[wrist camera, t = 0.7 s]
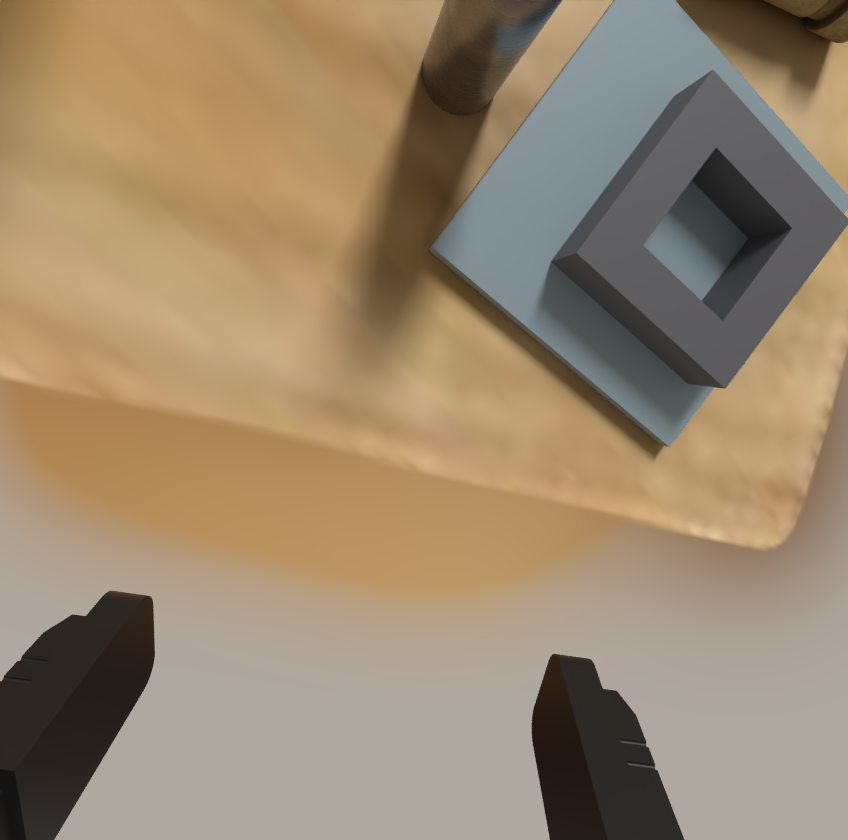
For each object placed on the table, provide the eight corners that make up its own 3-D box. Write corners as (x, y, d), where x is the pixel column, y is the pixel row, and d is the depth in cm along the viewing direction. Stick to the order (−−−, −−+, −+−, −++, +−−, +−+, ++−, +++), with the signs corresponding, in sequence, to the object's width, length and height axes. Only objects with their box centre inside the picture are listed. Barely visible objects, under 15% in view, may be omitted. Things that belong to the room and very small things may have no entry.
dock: (427, 249, 29) (444, 235, 25) (631, -24, 29) (679, -80, 25) (659, 443, 33) (704, 457, 29) (837, 205, 33) (906, 187, 29)
